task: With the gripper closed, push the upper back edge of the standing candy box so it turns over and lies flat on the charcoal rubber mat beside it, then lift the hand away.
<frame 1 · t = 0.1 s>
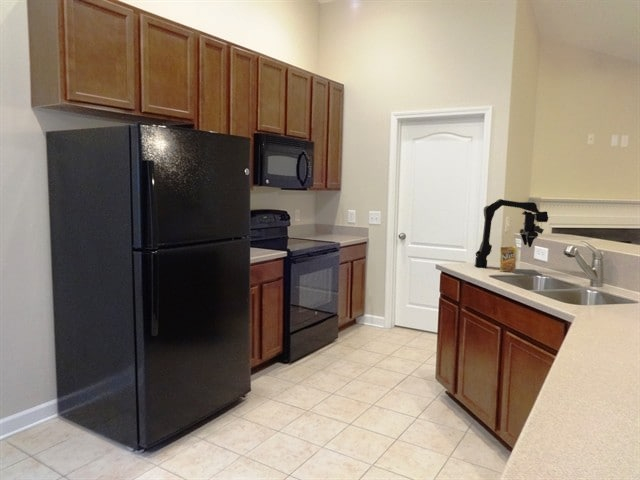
hand: (527, 246, 300), 15 cm above the worktop, fingers open, 9 cm apart
mat: (524, 272, 291), on the worktop
candy box: (507, 271, 292), on the worktop, touching mat
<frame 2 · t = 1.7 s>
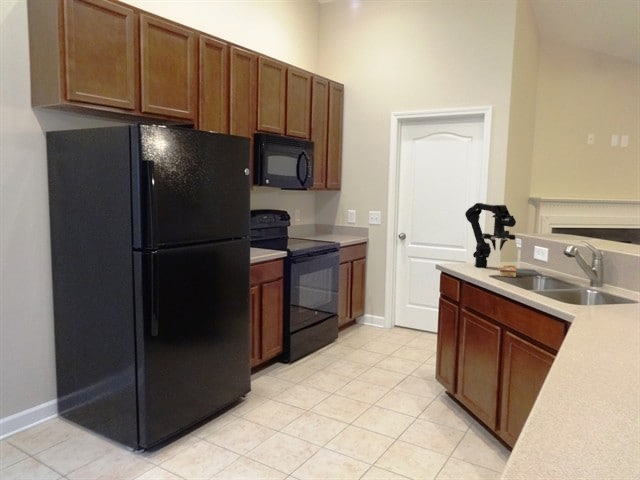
hand: (497, 250, 291), 13 cm above the worktop, fingers open, 3 cm apart
candy box: (507, 268, 290), point 2 cm above the worktop, touching mat
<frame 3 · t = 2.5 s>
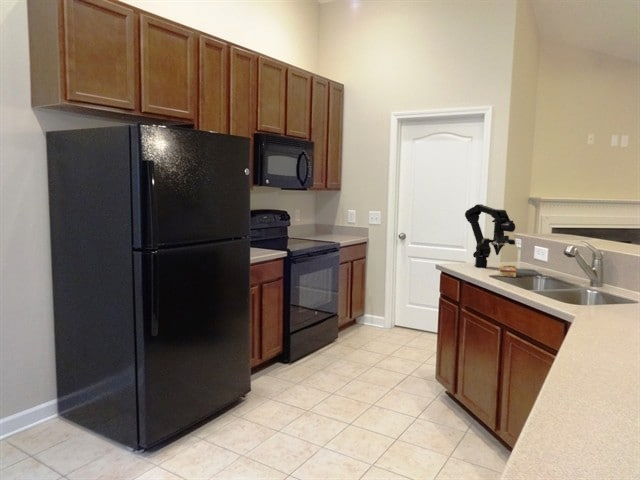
hand: (497, 255, 292), 10 cm above the worktop, fingers closed
nothing on the worktop moved.
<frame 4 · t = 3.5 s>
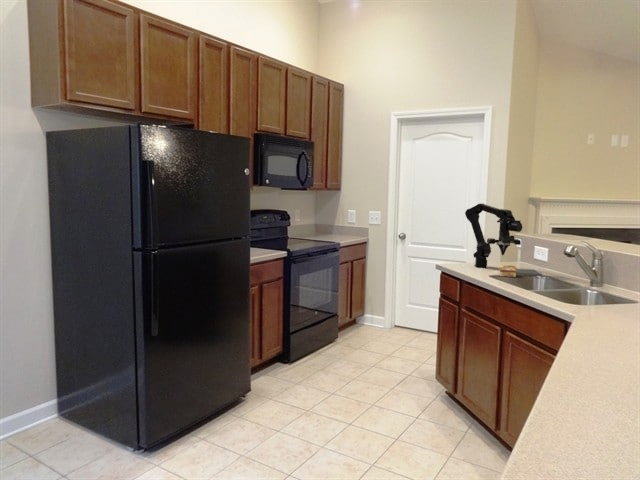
hand: (502, 255, 291), 10 cm above the worktop, fingers closed
nothing on the worktop moved.
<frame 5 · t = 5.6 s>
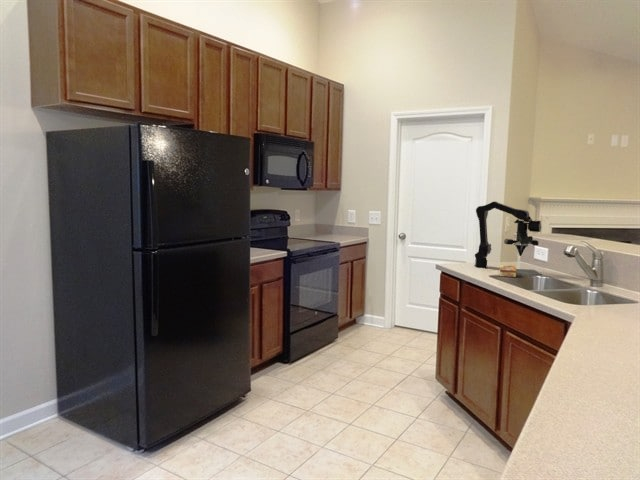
hand: (520, 255, 290), 10 cm above the worktop, fingers closed
nothing on the worktop moved.
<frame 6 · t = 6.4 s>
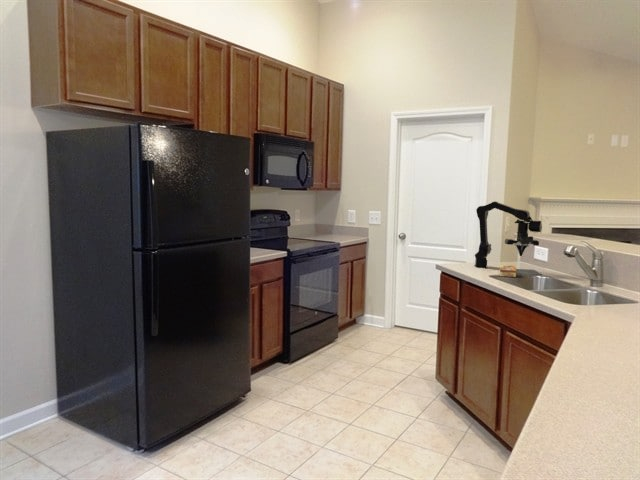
hand: (520, 255, 290), 10 cm above the worktop, fingers closed
nothing on the worktop moved.
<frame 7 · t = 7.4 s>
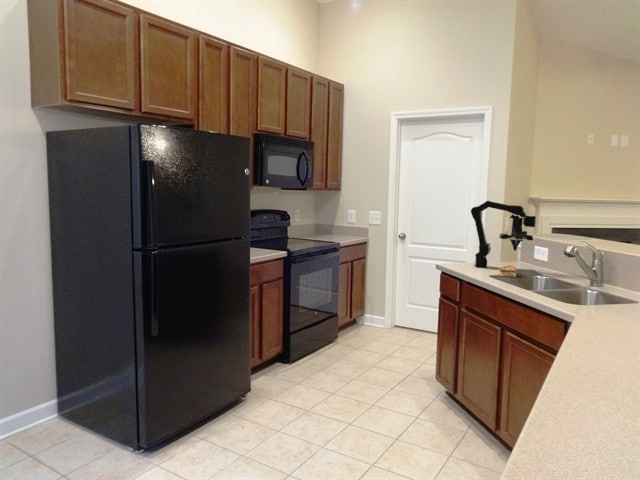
hand: (514, 250, 294), 13 cm above the worktop, fingers closed
nothing on the worktop moved.
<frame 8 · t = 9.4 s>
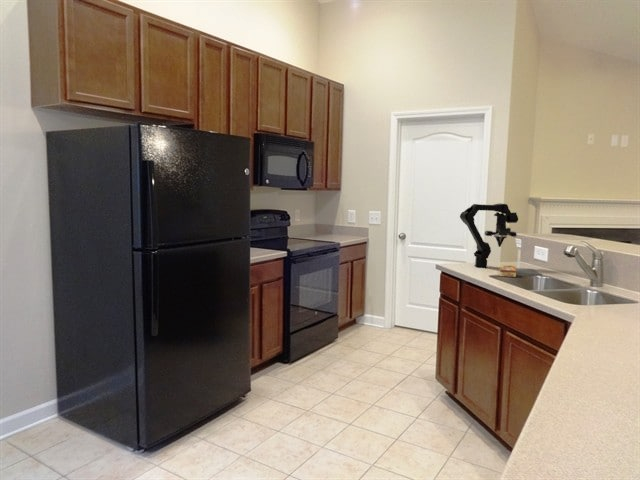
hand: (499, 246, 306), 13 cm above the worktop, fingers closed
nothing on the worktop moved.
at the end: candy box tilted 91°; candy box touching mat, worktop; candy box inside the target area (6.9 cm from its centre), point 2.3 cm above the worktop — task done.
